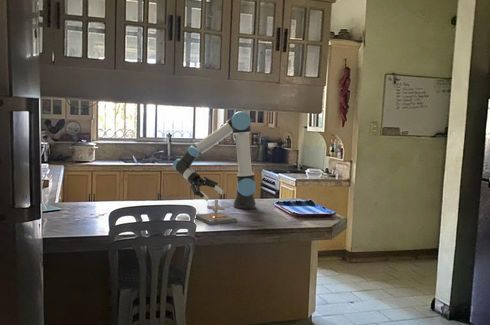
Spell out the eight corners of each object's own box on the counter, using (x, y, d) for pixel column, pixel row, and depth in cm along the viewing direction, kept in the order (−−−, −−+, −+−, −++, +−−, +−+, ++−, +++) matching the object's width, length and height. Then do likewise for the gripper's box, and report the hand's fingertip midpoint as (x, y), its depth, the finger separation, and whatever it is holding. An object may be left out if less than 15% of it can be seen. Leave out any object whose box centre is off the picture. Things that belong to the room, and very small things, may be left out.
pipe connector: (222, 219, 263) (222, 202, 262) (205, 217, 265) (206, 200, 264) (225, 215, 273) (226, 198, 272) (209, 213, 275) (210, 197, 274)
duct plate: (220, 215, 282) (220, 212, 282) (236, 221, 267) (236, 218, 267) (194, 217, 272) (194, 214, 272) (209, 224, 257) (209, 221, 257)
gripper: (203, 176, 302) (226, 194, 293) (176, 186, 283) (199, 206, 274) (206, 167, 298) (229, 185, 289) (179, 177, 279) (203, 197, 270)
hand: (215, 196), depth 282 cm, fingers open, 13 cm apart
